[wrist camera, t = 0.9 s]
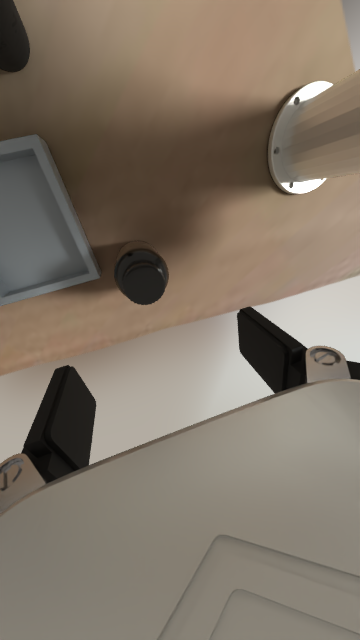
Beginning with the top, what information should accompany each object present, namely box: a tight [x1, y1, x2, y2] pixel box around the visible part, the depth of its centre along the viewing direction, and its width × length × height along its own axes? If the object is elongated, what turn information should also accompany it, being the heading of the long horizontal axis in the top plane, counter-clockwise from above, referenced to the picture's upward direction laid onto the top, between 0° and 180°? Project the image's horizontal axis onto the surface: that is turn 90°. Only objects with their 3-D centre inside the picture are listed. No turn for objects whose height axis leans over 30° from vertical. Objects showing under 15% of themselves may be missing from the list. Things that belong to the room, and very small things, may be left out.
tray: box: [0, 134, 102, 306], centre depth 26 cm, size 14×16×3 cm
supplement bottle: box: [114, 241, 169, 305], centre depth 27 cm, size 7×7×12 cm
